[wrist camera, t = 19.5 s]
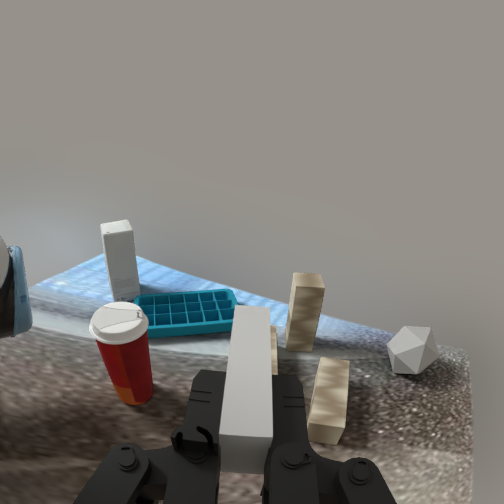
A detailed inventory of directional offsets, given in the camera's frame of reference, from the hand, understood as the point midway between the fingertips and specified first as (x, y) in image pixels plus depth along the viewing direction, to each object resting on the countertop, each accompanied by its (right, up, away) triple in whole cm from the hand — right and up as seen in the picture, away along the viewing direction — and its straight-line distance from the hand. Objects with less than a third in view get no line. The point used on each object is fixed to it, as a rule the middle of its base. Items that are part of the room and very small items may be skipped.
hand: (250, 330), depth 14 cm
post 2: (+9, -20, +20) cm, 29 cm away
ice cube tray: (-13, -10, +45) cm, 48 cm away
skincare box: (-28, -6, +52) cm, 59 cm away
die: (+27, -17, +34) cm, 47 cm away
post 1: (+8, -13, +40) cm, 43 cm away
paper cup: (-17, -17, +27) cm, 36 cm away
